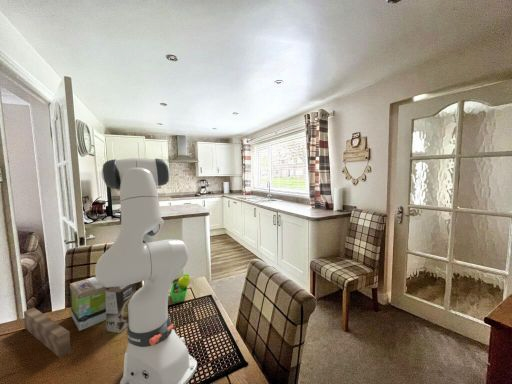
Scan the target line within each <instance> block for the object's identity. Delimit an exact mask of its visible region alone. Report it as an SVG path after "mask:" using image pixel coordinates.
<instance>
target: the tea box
mask: <svg viewBox="0 0 512 384" xmlns="http://www.w3.org/2000/svg"><path fill="white" fill-rule="evenodd" d="M106 290H108V289H107V288H106V287H104V286H102V285H101V284H100V283H99V282H98V280H97V278H96V276H93V277H90V278H85V279H82V280H77V281H75V282H72V283H71V282H70V284H69V295H70V297H69V299H70V315H71V318H72V320H73V322H74V323H75V326H76V328H77V329H78V331H82V330H85V329H88V328H90V327H92V326H95V325H97V324H99V323H102V322H104V321H106V294H105V291H106Z"/></svg>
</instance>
